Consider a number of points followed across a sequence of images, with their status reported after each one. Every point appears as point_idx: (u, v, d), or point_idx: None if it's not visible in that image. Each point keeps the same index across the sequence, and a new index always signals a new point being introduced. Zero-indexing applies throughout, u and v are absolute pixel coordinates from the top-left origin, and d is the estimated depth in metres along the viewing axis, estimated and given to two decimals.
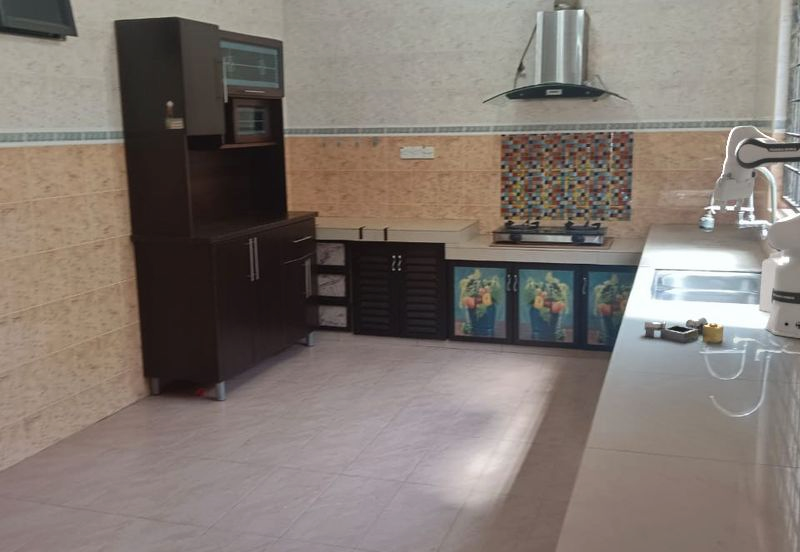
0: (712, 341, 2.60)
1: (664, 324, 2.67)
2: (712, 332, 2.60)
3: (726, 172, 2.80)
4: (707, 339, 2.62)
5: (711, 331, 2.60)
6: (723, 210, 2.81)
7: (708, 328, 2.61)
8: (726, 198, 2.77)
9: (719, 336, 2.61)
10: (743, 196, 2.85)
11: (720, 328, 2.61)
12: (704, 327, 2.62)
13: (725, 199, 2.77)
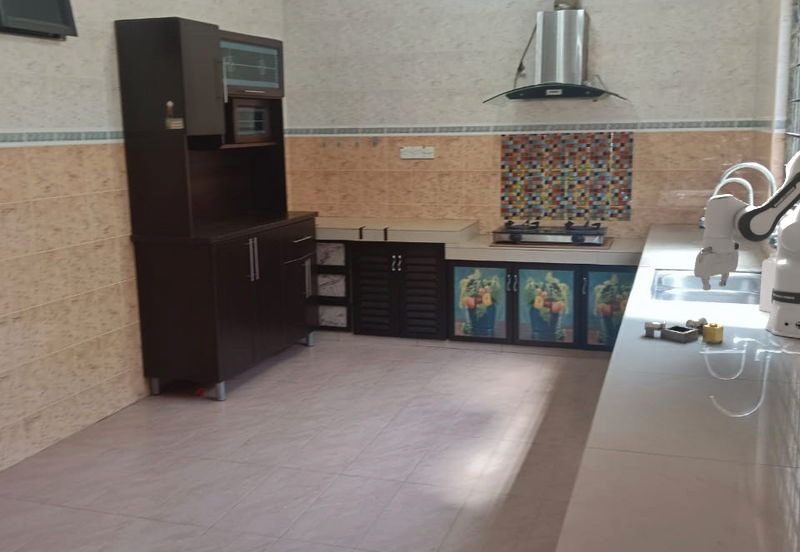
0: (712, 341, 2.60)
1: (664, 324, 2.67)
2: (712, 332, 2.60)
3: (706, 246, 2.56)
4: (707, 339, 2.62)
5: (711, 331, 2.60)
6: (706, 287, 2.56)
7: (708, 328, 2.61)
8: (708, 274, 2.53)
9: (719, 336, 2.61)
10: (727, 270, 2.60)
11: (720, 328, 2.61)
12: (704, 327, 2.62)
13: (707, 275, 2.53)
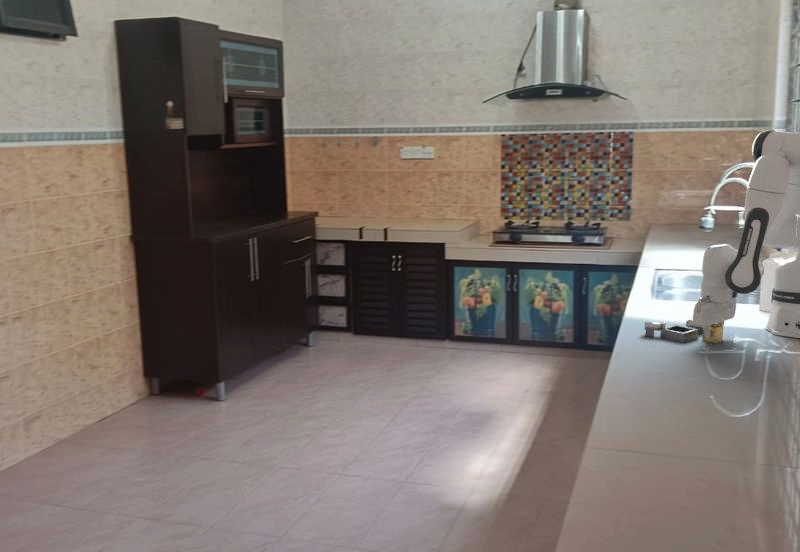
0: (712, 341, 2.60)
1: (664, 324, 2.67)
2: (712, 332, 2.60)
3: (704, 295, 2.58)
4: (707, 339, 2.62)
5: (711, 330, 2.60)
6: (708, 335, 2.60)
7: None
8: (706, 323, 2.56)
9: (719, 336, 2.61)
10: (725, 318, 2.63)
11: (720, 328, 2.61)
12: None
13: (705, 325, 2.55)
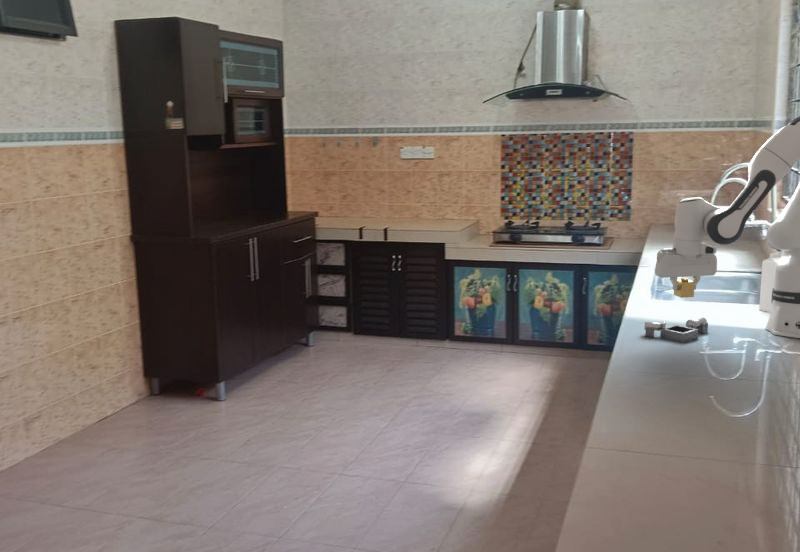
0: (679, 295, 2.61)
1: (664, 324, 2.67)
2: None
3: (673, 247, 2.60)
4: (676, 293, 2.63)
5: None
6: (674, 287, 2.61)
7: (677, 282, 2.62)
8: (667, 275, 2.58)
9: (688, 291, 2.60)
10: (700, 273, 2.60)
11: (689, 283, 2.60)
12: None
13: (666, 276, 2.58)
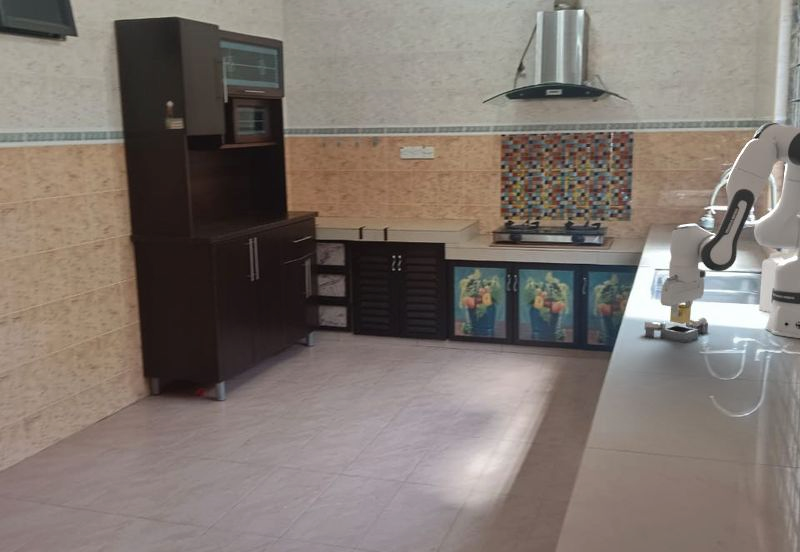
0: (679, 322, 2.63)
1: (664, 324, 2.67)
2: None
3: (672, 274, 2.61)
4: (674, 320, 2.64)
5: None
6: (676, 314, 2.62)
7: None
8: (674, 302, 2.58)
9: (686, 317, 2.63)
10: (693, 298, 2.65)
11: (687, 309, 2.63)
12: None
13: (673, 304, 2.57)
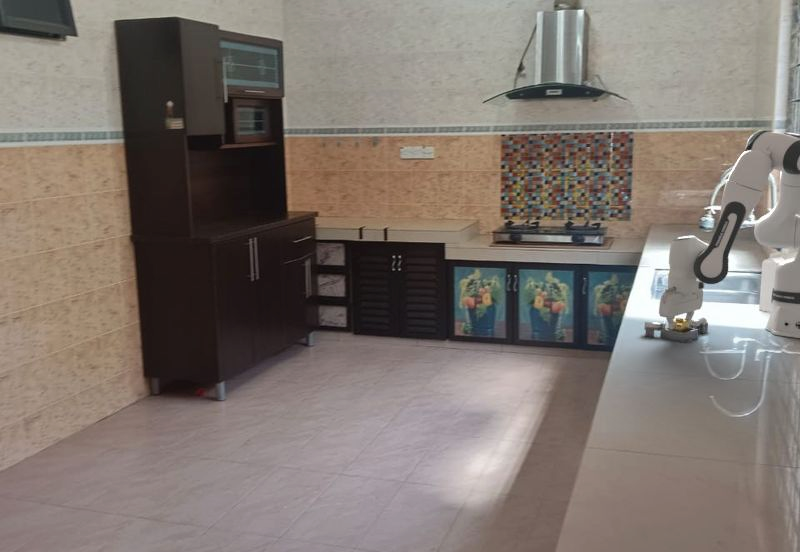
0: None
1: (664, 324, 2.67)
2: (678, 327, 2.64)
3: (670, 286, 2.62)
4: None
5: (677, 325, 2.64)
6: (671, 326, 2.62)
7: None
8: (673, 314, 2.59)
9: (685, 330, 2.65)
10: (692, 309, 2.66)
11: (686, 323, 2.64)
12: None
13: (671, 315, 2.59)
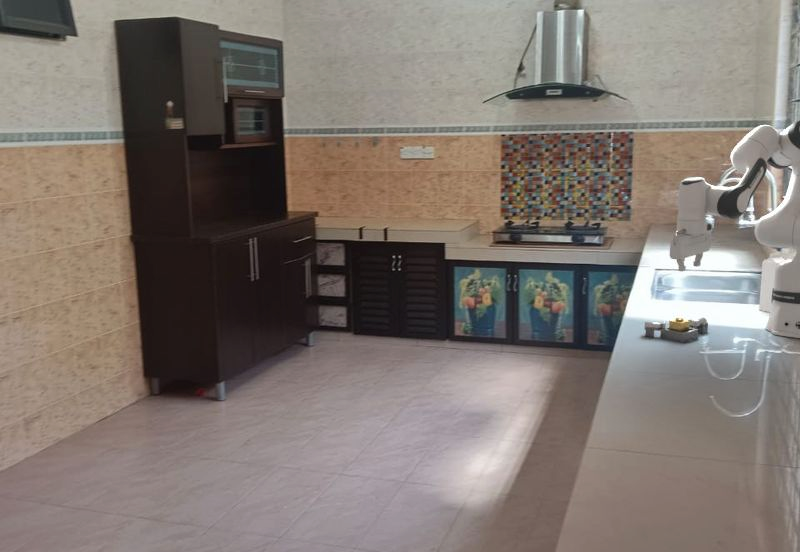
0: None
1: (664, 324, 2.67)
2: (678, 327, 2.64)
3: (680, 228, 2.64)
4: None
5: (677, 325, 2.64)
6: (682, 268, 2.65)
7: (674, 323, 2.65)
8: (683, 256, 2.62)
9: (685, 330, 2.65)
10: (701, 251, 2.69)
11: (686, 323, 2.64)
12: (670, 322, 2.66)
13: (682, 257, 2.61)
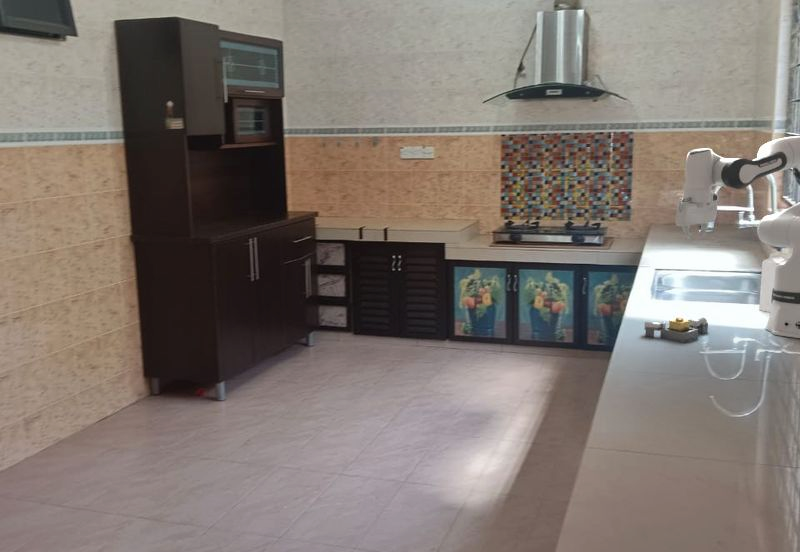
0: None
1: (664, 324, 2.67)
2: (678, 327, 2.64)
3: (686, 197, 2.73)
4: None
5: (677, 325, 2.64)
6: (687, 235, 2.74)
7: (674, 323, 2.65)
8: (688, 223, 2.70)
9: (685, 330, 2.65)
10: (707, 220, 2.78)
11: (686, 323, 2.64)
12: (670, 322, 2.66)
13: (687, 224, 2.70)
